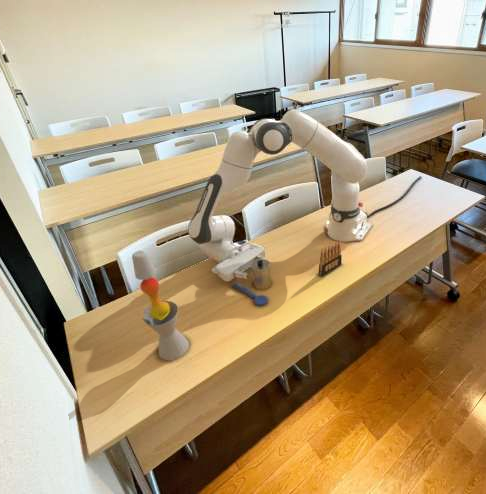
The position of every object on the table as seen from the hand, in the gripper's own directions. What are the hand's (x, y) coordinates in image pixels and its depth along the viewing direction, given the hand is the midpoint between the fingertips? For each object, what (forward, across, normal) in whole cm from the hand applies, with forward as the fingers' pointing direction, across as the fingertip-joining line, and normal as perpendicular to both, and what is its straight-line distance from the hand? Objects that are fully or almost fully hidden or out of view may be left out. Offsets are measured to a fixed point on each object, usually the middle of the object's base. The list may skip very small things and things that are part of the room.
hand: (256, 269), depth 121 cm
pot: (+2, 0, +6) cm, 6 cm away
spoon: (+3, -7, +6) cm, 9 cm away
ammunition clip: (+17, +22, +6) cm, 29 cm away
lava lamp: (+1, -37, +6) cm, 37 cm away
